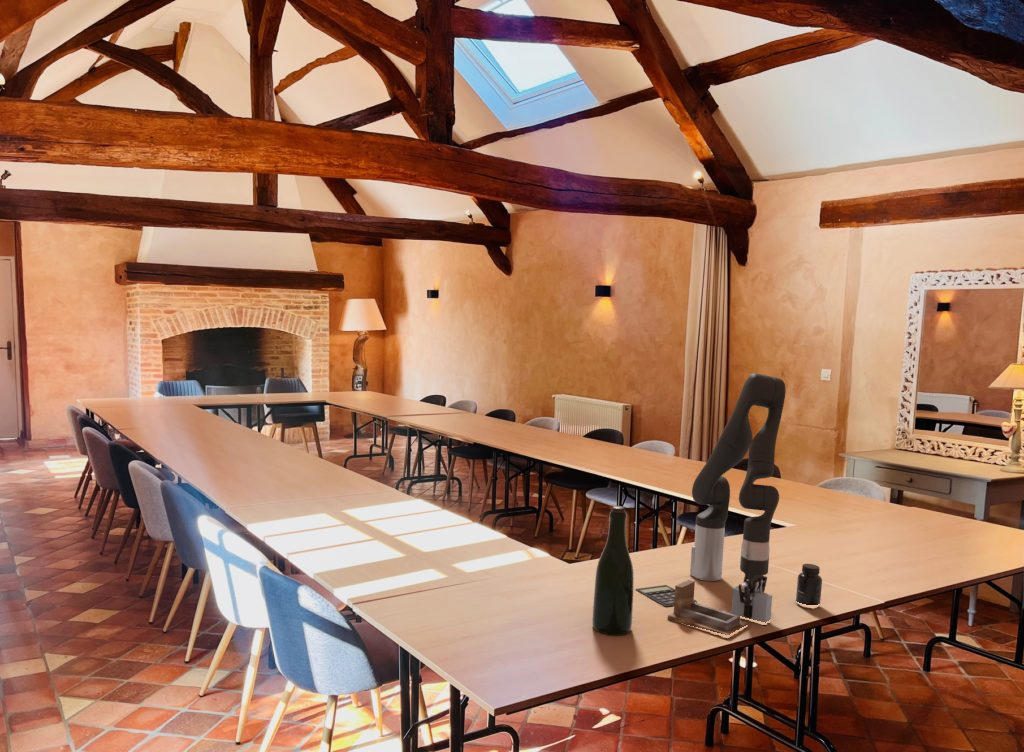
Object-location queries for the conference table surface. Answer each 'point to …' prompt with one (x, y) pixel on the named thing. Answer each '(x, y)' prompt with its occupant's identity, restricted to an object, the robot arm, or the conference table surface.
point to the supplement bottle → (809, 585)
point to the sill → (701, 612)
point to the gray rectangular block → (760, 605)
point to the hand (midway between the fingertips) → (750, 615)
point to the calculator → (660, 594)
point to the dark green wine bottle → (614, 580)
